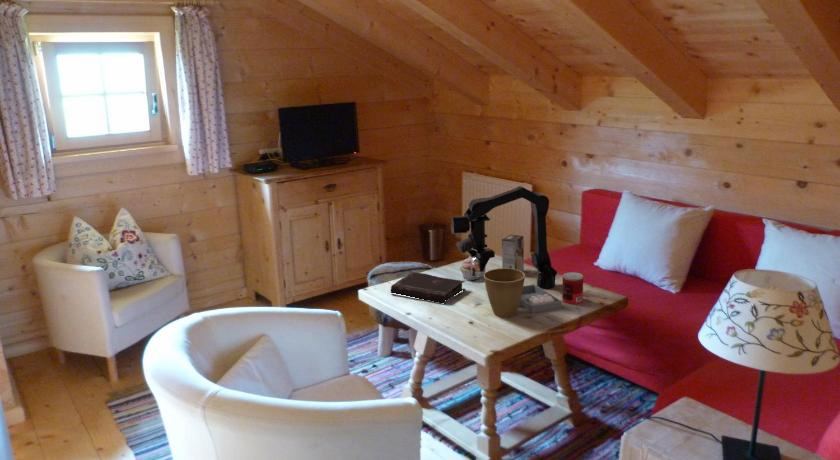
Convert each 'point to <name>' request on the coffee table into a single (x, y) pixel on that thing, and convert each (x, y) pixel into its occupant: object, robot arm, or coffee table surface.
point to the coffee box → (513, 252)
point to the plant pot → (504, 290)
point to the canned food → (572, 288)
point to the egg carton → (540, 299)
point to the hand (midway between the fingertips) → (478, 269)
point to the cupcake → (467, 270)
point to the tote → (535, 291)
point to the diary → (427, 287)
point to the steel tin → (476, 267)
